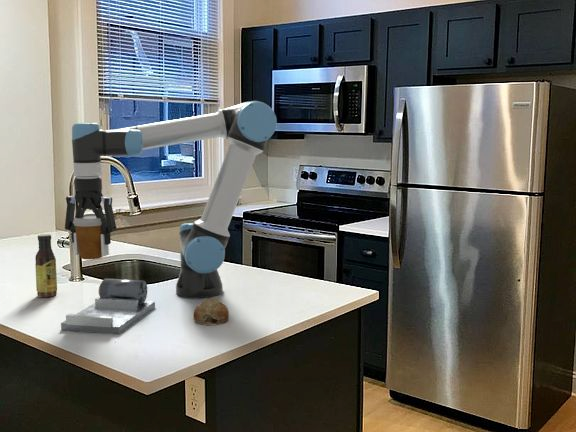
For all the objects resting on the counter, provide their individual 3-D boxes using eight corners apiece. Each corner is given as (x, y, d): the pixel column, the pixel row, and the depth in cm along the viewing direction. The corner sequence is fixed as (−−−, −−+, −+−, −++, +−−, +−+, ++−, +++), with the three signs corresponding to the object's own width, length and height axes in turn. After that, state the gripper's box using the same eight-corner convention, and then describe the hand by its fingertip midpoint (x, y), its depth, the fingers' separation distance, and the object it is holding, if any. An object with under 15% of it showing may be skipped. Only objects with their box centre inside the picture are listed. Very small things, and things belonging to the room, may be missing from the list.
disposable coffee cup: (107, 252, 196) (106, 213, 195) (109, 259, 188) (107, 218, 186) (74, 254, 194) (72, 215, 192) (74, 261, 185) (72, 220, 183)
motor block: (155, 307, 197) (154, 278, 196) (118, 335, 173) (116, 302, 171) (103, 304, 201) (102, 275, 199) (59, 331, 176) (57, 298, 175)
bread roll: (195, 337, 182) (196, 316, 177) (190, 312, 190) (191, 291, 185) (230, 334, 184) (232, 313, 180) (224, 309, 192) (225, 288, 188)
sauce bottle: (50, 298, 207) (46, 237, 203) (33, 297, 208) (28, 236, 205) (61, 293, 213) (58, 233, 210) (44, 292, 214) (40, 232, 211)
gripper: (127, 176, 188) (130, 253, 191) (63, 175, 193) (67, 250, 197) (114, 179, 181) (117, 259, 184) (48, 177, 186) (52, 255, 189)
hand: (91, 254), depth 190 cm, fingers closed on disposable coffee cup, 8 cm apart
